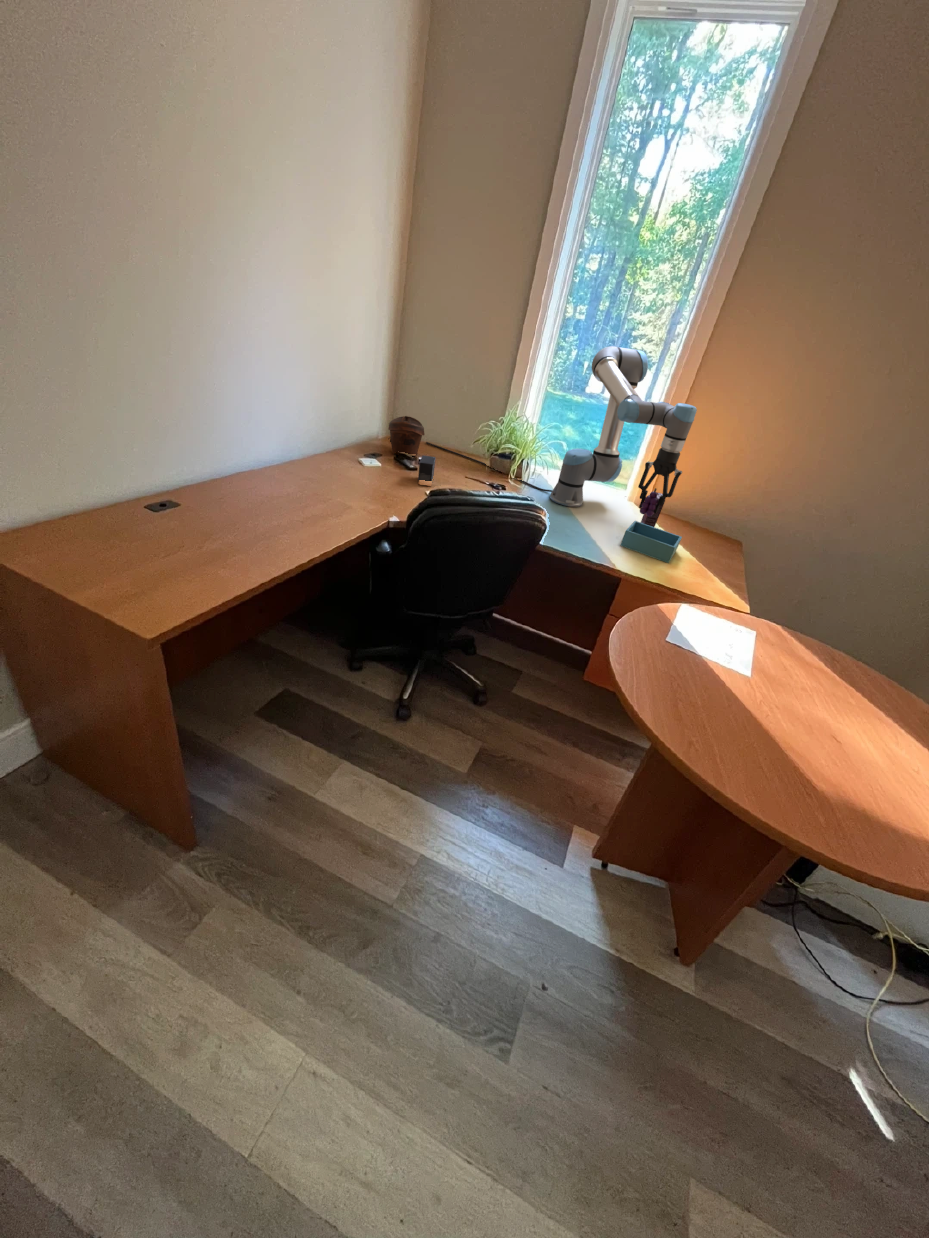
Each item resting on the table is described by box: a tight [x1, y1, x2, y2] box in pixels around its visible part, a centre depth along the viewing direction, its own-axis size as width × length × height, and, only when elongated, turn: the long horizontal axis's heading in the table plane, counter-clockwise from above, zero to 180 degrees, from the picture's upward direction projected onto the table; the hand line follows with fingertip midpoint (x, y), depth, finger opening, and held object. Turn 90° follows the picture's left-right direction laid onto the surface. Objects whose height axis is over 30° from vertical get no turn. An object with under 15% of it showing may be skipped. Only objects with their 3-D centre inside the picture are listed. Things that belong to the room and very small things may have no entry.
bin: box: [620, 520, 683, 564], centre depth 196 cm, size 20×14×7 cm
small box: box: [417, 455, 436, 481], centre depth 220 cm, size 11×6×10 cm, turn 178°
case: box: [387, 415, 425, 456], centre depth 247 cm, size 18×20×18 cm
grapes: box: [639, 488, 659, 516], centre depth 189 cm, size 5×5×11 cm
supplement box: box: [640, 491, 666, 528], centre depth 210 cm, size 9×5×16 cm, turn 168°
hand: (648, 509), depth 191 cm, fingers closed on grapes, 5 cm apart
